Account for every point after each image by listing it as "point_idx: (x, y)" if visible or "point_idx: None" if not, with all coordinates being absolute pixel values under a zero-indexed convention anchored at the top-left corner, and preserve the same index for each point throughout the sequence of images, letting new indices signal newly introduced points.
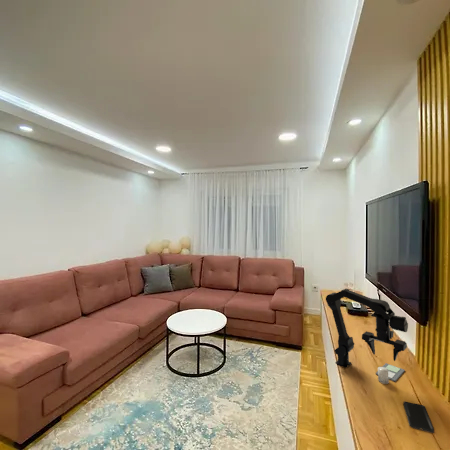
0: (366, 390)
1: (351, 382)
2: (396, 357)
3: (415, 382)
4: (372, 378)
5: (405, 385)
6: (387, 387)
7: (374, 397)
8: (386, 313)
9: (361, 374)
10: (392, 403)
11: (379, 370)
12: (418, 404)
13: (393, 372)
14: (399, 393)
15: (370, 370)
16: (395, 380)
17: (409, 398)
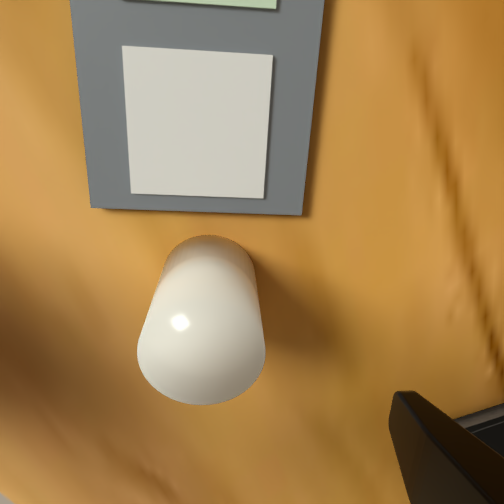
0: (162, 474)
1: (29, 462)
2: (476, 450)
3: (478, 62)
4: (113, 300)
5: (391, 205)
6: (267, 344)
7: (235, 501)
8: None
9: (2, 305)
10: (344, 483)
11: (179, 397)
12: (499, 419)
13: (239, 28)
14: (364, 359)
15: (12, 158)
16: (302, 205)
17: (434, 369)
